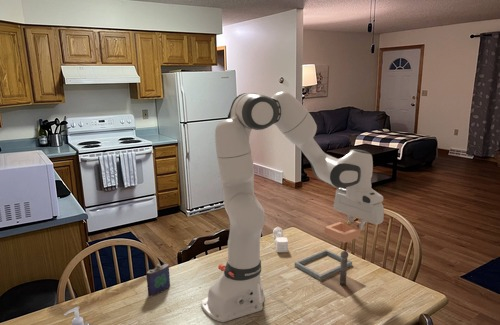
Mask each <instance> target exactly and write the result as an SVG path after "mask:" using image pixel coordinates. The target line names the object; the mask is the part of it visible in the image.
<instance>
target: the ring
mask: <svg viewBox="0 0 500 325" xmlns="http://www.w3.org/2000/svg"><path fill="white" fill-rule="evenodd" d="M360 223H361V222H360V221H357V220H356V221H354V222H353V223H350V222H349V223H347V222H343V221H338V222H336V223H332V224H329V225H326V226H324V235H325V236H327V237H329V238H331V239H334V240H336V241H339V242H340V243H343V244H345V243H348V242H350V241H353V240H355V239H357V238H360V237H361V231H362V230H361V229H360V228H357V225H359V224H360Z"/></svg>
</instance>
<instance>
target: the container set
mask: <svg viewBox="0 0 500 325" xmlns="http://www.w3.org/2000/svg"><path fill="white" fill-rule="evenodd" d="M272 238H274V245H275V251H276V253H288V252H289V241H288V237H286V236H285V237H284V231H283V229H282V227H279V226H277V227H274V229H273V231H272Z"/></svg>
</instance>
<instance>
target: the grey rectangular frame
mask: <svg viewBox="0 0 500 325" xmlns="http://www.w3.org/2000/svg"><path fill="white" fill-rule="evenodd" d="M326 255H327V256H329V257H331V258H333V259H335V260H337V261H339V262H341V255H338V254H337V253H335V252H332V251H331V250H328V249H324V250H321V251H319V252H317V253H314V254H312V255H309V256H307V257H304V258H302V259H299V260H298V261H295V262H294V268H298V269H299V270H300V271H302V272H304V273H306V274H308V275H310V276H312V277H313V278H314V279H317V280H318V281H324V280H326V279H328V277H329V278H330V277H332V276H334V274H335V275H336V273H337V274H338V273H340V271H341V264H340V265H338V266H336V267H333V268H331V269H330V270H327V271H325V272H323V273H318V272H316V271H314V270H312V269H310V268H309V267H307V266H305V264H307V263H310V262H311V261H312V262H313V261H314V260H316V259H319V258H321V257H323V256H326ZM351 266H353V261H352V260H350V259H348V258H347V268H350V267H351Z"/></svg>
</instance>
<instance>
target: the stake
mask: <svg viewBox="0 0 500 325" xmlns="http://www.w3.org/2000/svg"><path fill="white" fill-rule="evenodd" d="M340 256H341V261H340V265H341V271H339V272H338V273H337V274H335V275H332V276H330V277H329V278H326V279H324V280H321V282H320V283H319V284H321V285H322V286H324V287H326V288H328V289H329V290H331V291H333V292H335V293H336V294H339V295H340V296H342V297H344V298H348V297H349V296H351V295H353V294H355V293H357V292H359V291H360V290H362V289H364V288H365V287H367V285H365V284H363V283H362V282H359V281H357V280H356V279H353V278H351V277H350V276H348V275H347V273H348V272H347V270H348V267H347V259H348V257H349V252H348V251H346V250H342V251H341V252H340Z"/></svg>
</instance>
